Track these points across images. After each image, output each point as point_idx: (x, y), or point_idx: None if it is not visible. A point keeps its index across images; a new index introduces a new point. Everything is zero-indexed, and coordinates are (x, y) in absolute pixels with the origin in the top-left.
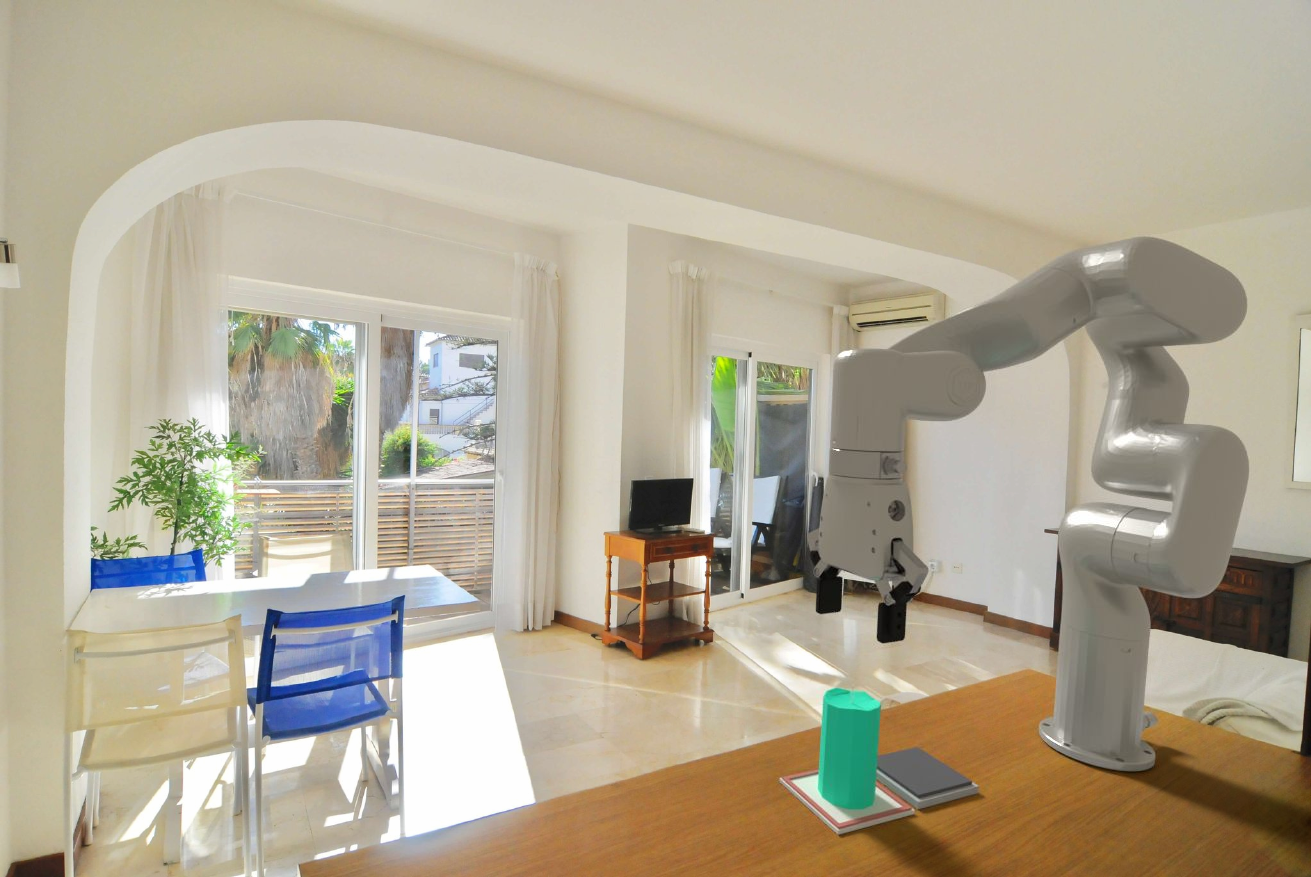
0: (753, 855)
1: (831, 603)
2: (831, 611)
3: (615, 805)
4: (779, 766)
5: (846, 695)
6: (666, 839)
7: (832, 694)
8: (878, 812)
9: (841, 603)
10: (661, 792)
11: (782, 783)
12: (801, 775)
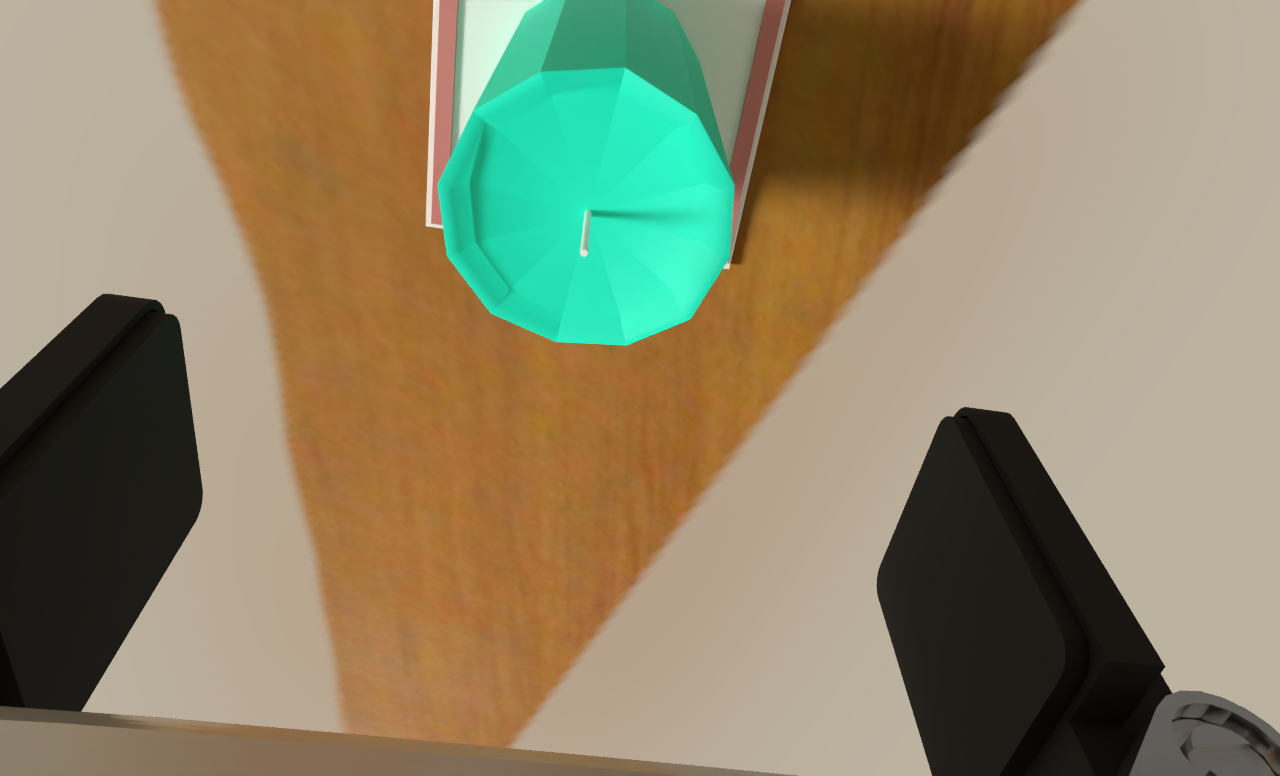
0: (668, 483)
1: (155, 468)
2: (187, 414)
3: (366, 617)
4: (340, 148)
5: (504, 163)
6: (528, 591)
7: (471, 230)
8: (738, 79)
9: (142, 351)
10: (352, 520)
11: None
12: (448, 155)
